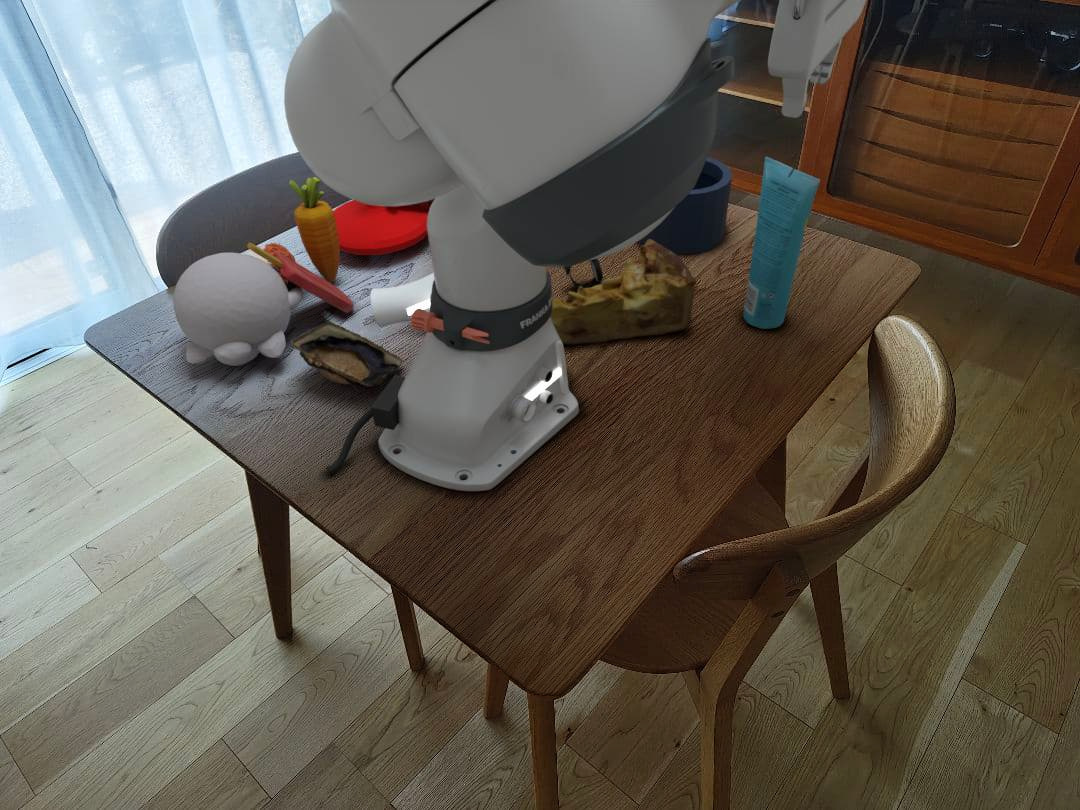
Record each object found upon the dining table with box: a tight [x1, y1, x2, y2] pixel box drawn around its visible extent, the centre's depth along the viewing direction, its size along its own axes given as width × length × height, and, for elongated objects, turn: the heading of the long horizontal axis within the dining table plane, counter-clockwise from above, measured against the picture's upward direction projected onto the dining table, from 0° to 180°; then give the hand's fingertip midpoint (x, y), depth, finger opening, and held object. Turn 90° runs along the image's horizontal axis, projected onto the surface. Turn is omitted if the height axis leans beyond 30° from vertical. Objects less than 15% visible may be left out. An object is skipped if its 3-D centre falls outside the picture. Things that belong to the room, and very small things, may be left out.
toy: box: [172, 252, 304, 367], centre depth 88 cm, size 14×12×15 cm
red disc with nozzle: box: [333, 199, 429, 256], centre depth 108 cm, size 16×16×7 cm
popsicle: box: [246, 241, 355, 314], centre depth 92 cm, size 6×1×15 cm
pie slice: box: [551, 239, 697, 346], centre depth 89 cm, size 18×10×8 cm, turn 112°
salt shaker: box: [370, 272, 435, 328], centre depth 92 cm, size 8×8×10 cm
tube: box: [742, 156, 821, 330], centre depth 86 cm, size 7×5×19 cm, turn 39°
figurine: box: [243, 242, 302, 292], centre depth 97 cm, size 7×6×12 cm
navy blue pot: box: [638, 156, 733, 255], centre depth 106 cm, size 13×13×9 cm
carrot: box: [288, 176, 341, 284], centre depth 98 cm, size 5×5×15 cm
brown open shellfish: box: [291, 320, 404, 392], centre depth 85 cm, size 11×8×4 cm
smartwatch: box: [563, 258, 604, 290], centre depth 98 cm, size 4×5×5 cm
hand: (806, 97), depth 73 cm, fingers open, 8 cm apart
